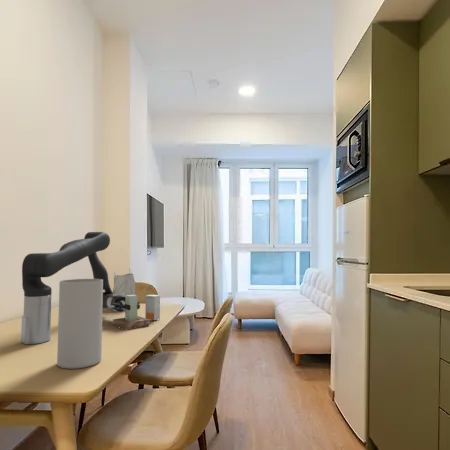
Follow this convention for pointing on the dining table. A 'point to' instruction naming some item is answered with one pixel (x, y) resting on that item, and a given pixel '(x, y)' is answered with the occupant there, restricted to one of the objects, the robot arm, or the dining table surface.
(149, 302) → the skincare box
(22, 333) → the robot arm
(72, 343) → the cylinder vase
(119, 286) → the grocery bag
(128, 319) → the green post
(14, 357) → the dining table surface
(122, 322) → the well block
